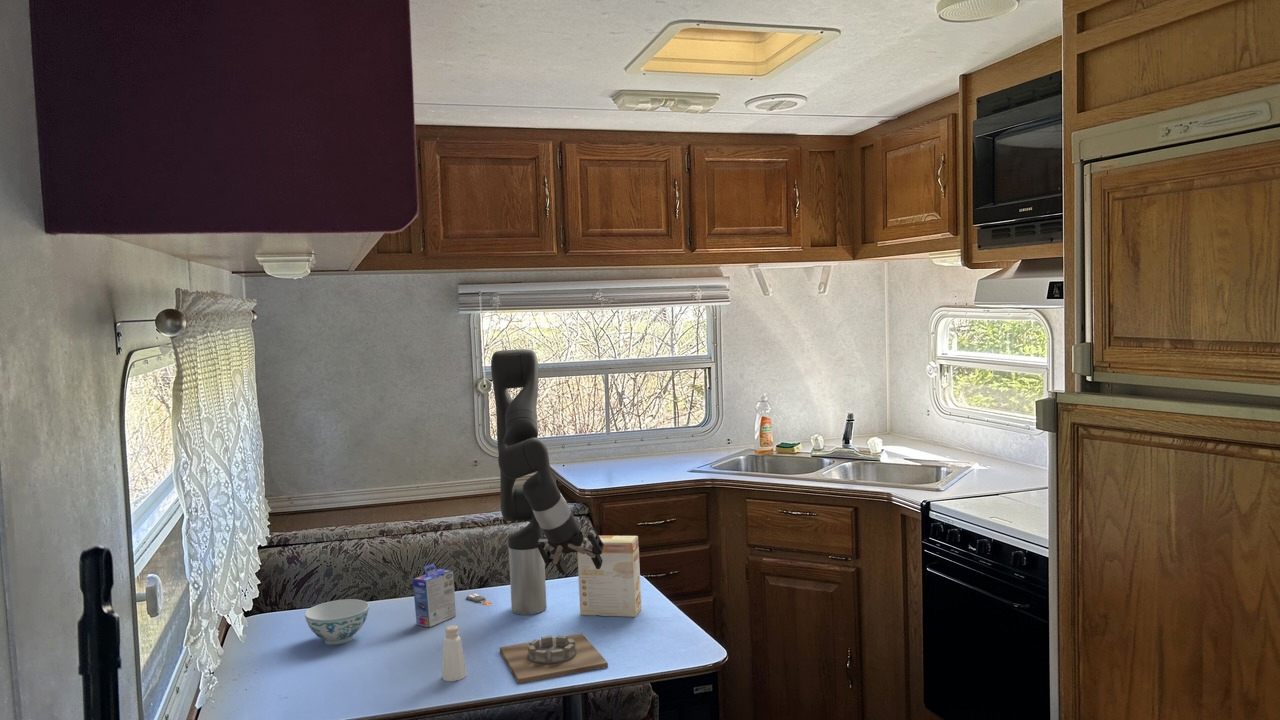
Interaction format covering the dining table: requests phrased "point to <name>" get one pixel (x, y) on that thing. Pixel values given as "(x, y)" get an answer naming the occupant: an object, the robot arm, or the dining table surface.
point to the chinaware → (337, 619)
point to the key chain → (477, 599)
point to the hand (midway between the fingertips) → (582, 569)
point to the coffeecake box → (611, 579)
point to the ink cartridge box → (434, 596)
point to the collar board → (552, 657)
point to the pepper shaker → (453, 656)
